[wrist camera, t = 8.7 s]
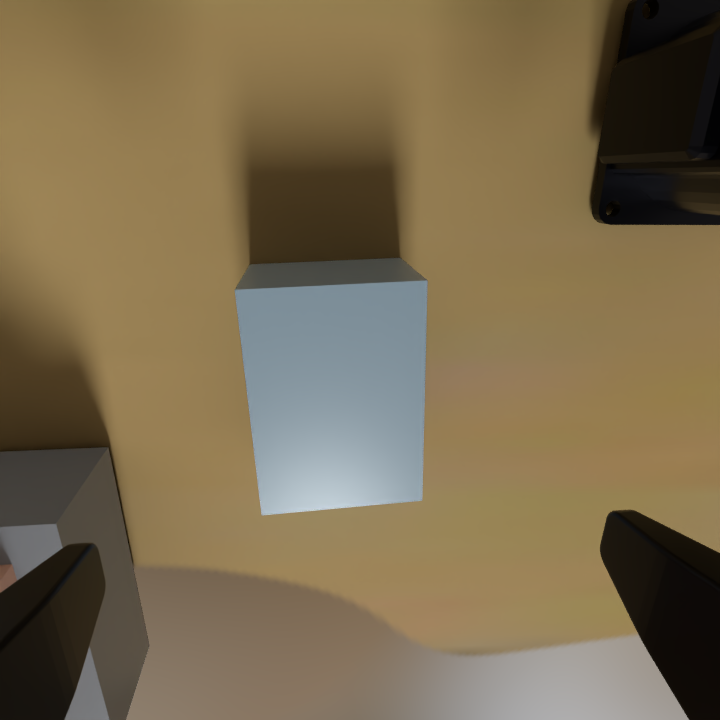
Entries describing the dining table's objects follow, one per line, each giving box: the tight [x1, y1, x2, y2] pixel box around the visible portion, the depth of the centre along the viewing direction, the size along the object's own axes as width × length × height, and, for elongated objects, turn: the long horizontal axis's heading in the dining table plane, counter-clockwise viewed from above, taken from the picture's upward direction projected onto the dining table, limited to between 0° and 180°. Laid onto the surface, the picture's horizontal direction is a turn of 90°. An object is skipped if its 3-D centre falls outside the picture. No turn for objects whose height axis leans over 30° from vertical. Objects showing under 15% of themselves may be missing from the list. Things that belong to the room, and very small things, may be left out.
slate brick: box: [235, 258, 427, 515], centre depth 16 cm, size 5×7×4 cm
